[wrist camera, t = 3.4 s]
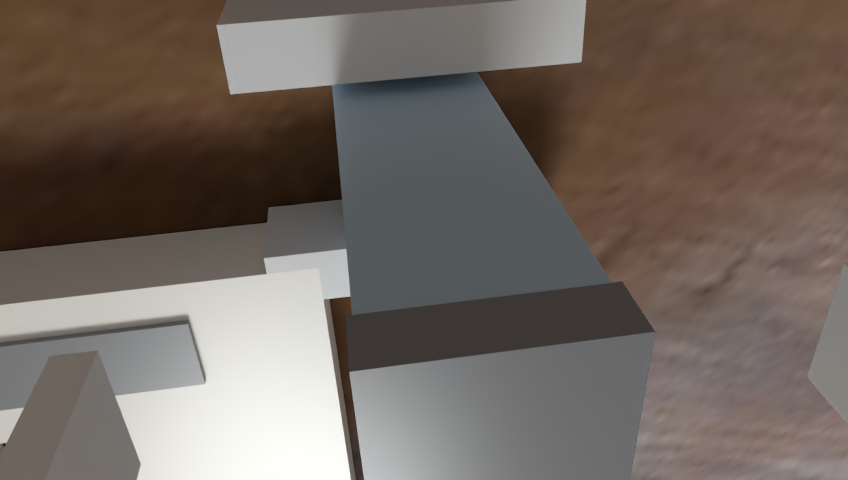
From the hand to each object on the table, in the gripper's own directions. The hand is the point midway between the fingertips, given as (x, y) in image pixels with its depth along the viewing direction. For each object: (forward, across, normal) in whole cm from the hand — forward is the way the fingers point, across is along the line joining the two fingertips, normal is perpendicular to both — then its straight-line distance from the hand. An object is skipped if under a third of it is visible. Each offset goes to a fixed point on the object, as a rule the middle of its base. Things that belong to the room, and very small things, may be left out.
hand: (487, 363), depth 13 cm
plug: (+11, 0, 0) cm, 11 cm away
